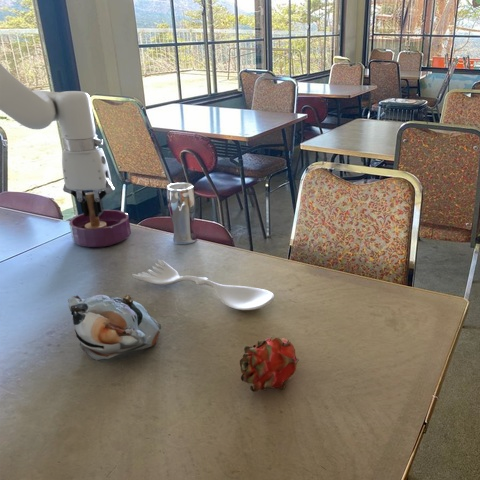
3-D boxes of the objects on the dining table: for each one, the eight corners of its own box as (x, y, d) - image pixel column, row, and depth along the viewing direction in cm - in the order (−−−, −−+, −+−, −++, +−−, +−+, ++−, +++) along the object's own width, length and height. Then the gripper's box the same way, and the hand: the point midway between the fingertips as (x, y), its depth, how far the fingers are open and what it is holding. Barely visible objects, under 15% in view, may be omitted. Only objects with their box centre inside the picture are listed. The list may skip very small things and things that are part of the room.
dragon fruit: (240, 411, 74) (286, 377, 84) (278, 400, 69) (322, 366, 79) (217, 360, 74) (266, 332, 84) (254, 346, 69) (300, 319, 79)
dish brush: (83, 240, 125) (74, 196, 120) (92, 232, 130) (84, 189, 125) (103, 240, 125) (95, 197, 120) (111, 232, 130) (104, 190, 125)
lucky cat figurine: (176, 333, 89) (163, 295, 78) (129, 388, 82) (107, 354, 71) (115, 295, 93) (94, 253, 82) (66, 344, 86) (35, 306, 75)
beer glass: (192, 246, 125) (187, 191, 119) (167, 244, 125) (160, 189, 119) (202, 236, 131) (198, 183, 125) (178, 234, 132) (172, 181, 126)
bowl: (63, 249, 121) (59, 229, 119) (86, 228, 134) (83, 209, 132) (120, 249, 122) (117, 229, 120) (138, 228, 135) (135, 209, 133)
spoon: (160, 269, 112) (158, 256, 111) (281, 300, 101) (281, 286, 99) (132, 286, 105) (130, 272, 103) (259, 322, 93) (259, 306, 92)
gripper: (119, 141, 121) (129, 210, 128) (54, 140, 120) (68, 209, 128) (108, 148, 114) (120, 220, 122) (39, 147, 113) (55, 219, 121)
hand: (93, 214), depth 125 cm, fingers closed on dish brush
